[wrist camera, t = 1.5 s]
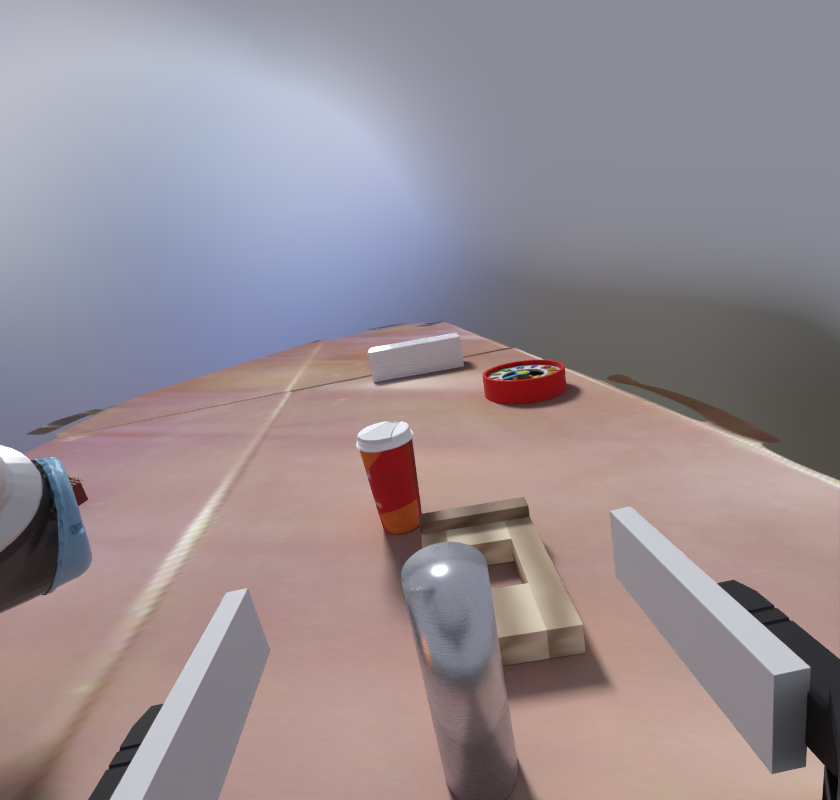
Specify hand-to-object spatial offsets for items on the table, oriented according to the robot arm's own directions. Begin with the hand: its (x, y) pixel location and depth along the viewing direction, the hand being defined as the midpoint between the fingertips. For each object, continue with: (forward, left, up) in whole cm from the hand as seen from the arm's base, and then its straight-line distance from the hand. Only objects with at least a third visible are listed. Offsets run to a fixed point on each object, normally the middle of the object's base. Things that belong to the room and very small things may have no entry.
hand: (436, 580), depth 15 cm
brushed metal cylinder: (0, +8, -22) cm, 23 cm away
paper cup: (-6, +39, -22) cm, 45 cm away
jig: (+3, +24, -22) cm, 32 cm away
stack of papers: (-2, +135, -22) cm, 137 cm away
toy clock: (+25, +90, -22) cm, 95 cm away
